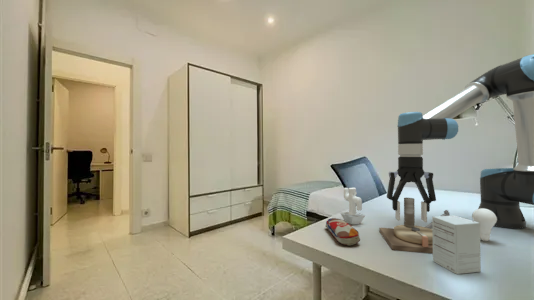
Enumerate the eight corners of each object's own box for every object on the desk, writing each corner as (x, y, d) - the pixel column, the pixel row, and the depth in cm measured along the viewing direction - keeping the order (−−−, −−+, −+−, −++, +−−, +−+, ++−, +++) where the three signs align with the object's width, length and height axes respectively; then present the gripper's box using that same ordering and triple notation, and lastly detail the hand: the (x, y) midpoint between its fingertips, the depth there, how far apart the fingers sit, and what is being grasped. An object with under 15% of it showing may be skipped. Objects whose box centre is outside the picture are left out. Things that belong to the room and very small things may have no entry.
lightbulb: (473, 236, 84) (473, 205, 84) (497, 240, 80) (497, 208, 80) (471, 240, 80) (471, 208, 80) (496, 246, 75) (496, 211, 75)
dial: (449, 245, 72) (448, 206, 72) (404, 243, 74) (403, 205, 74) (425, 230, 85) (425, 197, 85) (388, 229, 86) (387, 197, 86)
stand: (435, 235, 85) (435, 231, 85) (463, 255, 69) (463, 250, 69) (379, 231, 90) (379, 227, 90) (392, 250, 73) (392, 245, 73)
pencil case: (326, 246, 77) (325, 231, 77) (325, 227, 96) (325, 214, 96) (361, 249, 74) (361, 233, 74) (353, 229, 93) (353, 216, 93)
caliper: (447, 224, 98) (446, 209, 98) (450, 225, 97) (450, 209, 97) (419, 233, 88) (419, 216, 88) (422, 234, 87) (422, 217, 87)
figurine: (353, 227, 95) (353, 190, 95) (338, 220, 104) (338, 186, 104) (367, 224, 98) (367, 188, 98) (351, 218, 107) (351, 185, 107)
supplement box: (454, 259, 67) (454, 214, 67) (481, 272, 59) (481, 222, 59) (431, 260, 66) (431, 215, 66) (456, 274, 58) (455, 224, 58)
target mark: (426, 245, 72) (426, 236, 72) (428, 247, 71) (428, 237, 71) (422, 245, 73) (422, 235, 73) (423, 247, 72) (423, 237, 72)
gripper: (437, 155, 85) (438, 218, 85) (376, 155, 90) (377, 215, 90) (448, 156, 78) (449, 225, 78) (381, 156, 82) (382, 221, 82)
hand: (410, 219), depth 84 cm, fingers open, 8 cm apart
